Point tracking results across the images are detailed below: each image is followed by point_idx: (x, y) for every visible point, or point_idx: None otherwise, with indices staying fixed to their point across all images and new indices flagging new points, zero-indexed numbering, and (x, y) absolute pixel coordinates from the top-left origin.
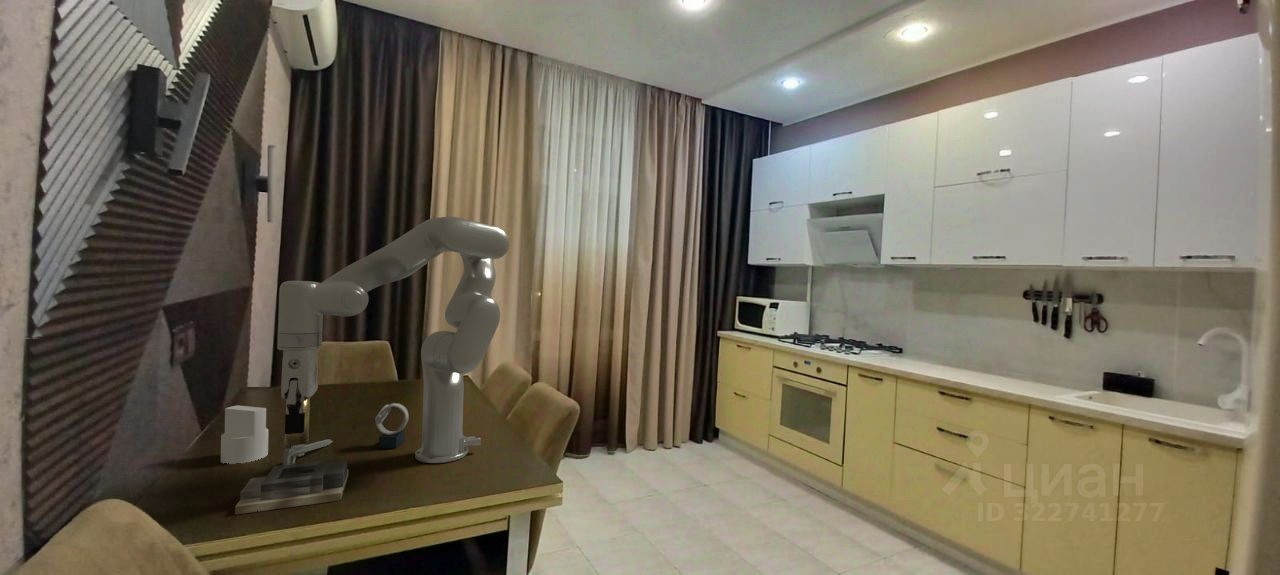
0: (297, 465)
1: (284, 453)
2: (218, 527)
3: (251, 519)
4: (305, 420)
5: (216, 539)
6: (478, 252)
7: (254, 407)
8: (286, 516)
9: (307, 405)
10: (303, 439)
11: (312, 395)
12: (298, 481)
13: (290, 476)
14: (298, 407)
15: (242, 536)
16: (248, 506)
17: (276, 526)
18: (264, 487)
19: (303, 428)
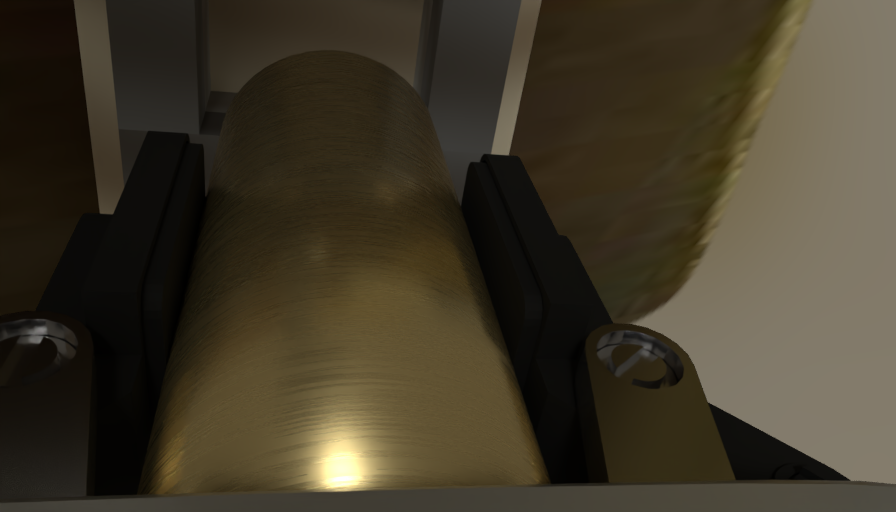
0: (154, 46)
1: None
2: (583, 261)
3: (576, 161)
4: (445, 214)
5: (699, 243)
6: None
7: None
8: (641, 13)
9: (456, 358)
10: (419, 110)
11: (760, 483)
12: (517, 10)
13: (206, 63)
14: (797, 465)
15: (739, 164)
16: None
17: (734, 47)
18: None
19: (527, 179)
